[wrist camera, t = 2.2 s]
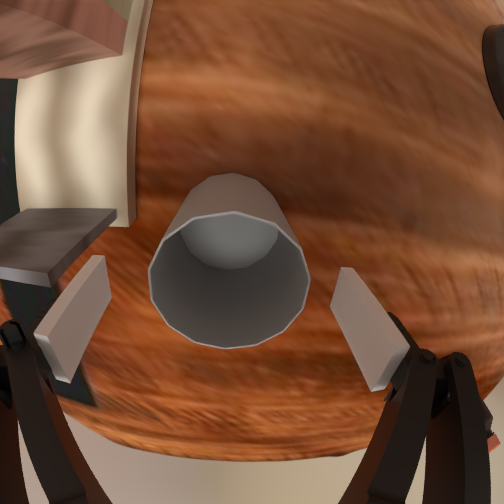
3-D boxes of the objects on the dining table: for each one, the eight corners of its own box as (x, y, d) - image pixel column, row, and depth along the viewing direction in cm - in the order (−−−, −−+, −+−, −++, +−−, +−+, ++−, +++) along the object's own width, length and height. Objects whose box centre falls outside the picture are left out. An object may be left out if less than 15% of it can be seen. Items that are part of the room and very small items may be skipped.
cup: (163, 195, 21) (119, 248, 12) (259, 157, 21) (281, 184, 12) (205, 279, 25) (194, 362, 16) (291, 249, 24) (323, 323, 15)
